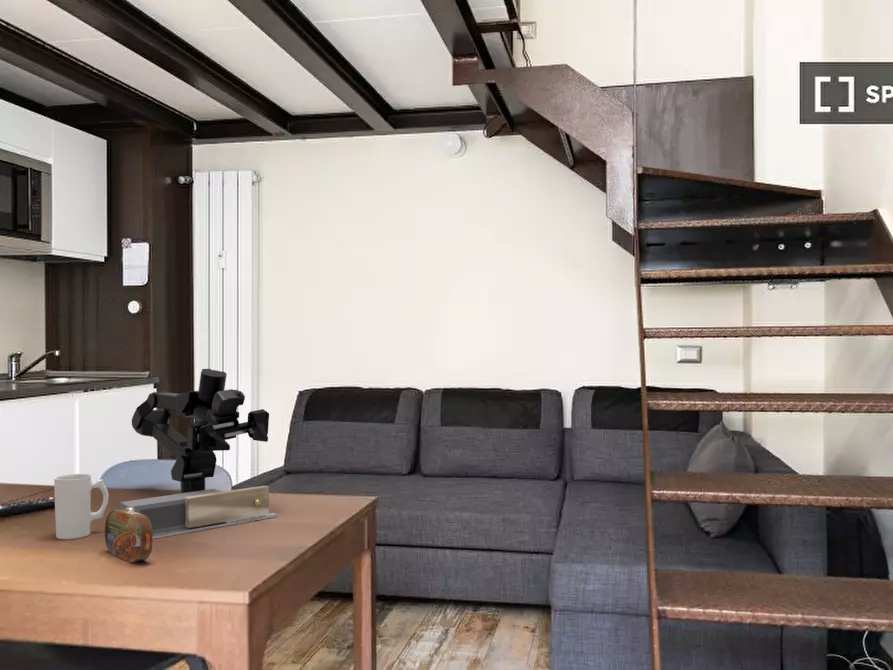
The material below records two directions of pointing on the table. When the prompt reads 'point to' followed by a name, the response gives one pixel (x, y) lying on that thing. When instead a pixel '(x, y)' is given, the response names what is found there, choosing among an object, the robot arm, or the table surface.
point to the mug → (76, 505)
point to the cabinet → (164, 510)
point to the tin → (128, 535)
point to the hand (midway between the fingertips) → (248, 443)
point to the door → (226, 506)
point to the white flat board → (186, 530)
